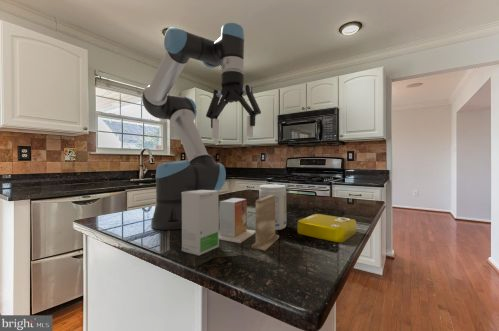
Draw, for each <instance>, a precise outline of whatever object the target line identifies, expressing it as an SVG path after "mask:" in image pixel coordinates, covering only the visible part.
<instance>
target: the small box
mask: <svg viewBox="0 0 499 331" xmlns="http://www.w3.org/2000/svg"><path fill="white" fill-rule="evenodd" d="M247 201H248V200H247V198H238V197H231V198H228V199H225V200H220V201H219V230H220V235H225V236H231V237H236V236H237V235H239V234H241V233H243V232H245V231H247V229H248V228H247V226H248V225H247V223H248V221H247V220H248V219H247V217H248V215H247V213H248V212H247V209H248V207H247V206H248V205H247V204H248V202H247Z"/></svg>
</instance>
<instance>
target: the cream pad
mask: <svg viewBox="0 0 499 331" xmlns="http://www.w3.org/2000/svg"><path fill="white" fill-rule="evenodd" d="M253 235H256V229H255V230H254V229H253V230H252V229H248V228H247V231H245V232H243V233H241V234H239V235H237V236H236V237H231V236H225V235H220V229H219V241H220V240H221V241H226V242H233V243H237V244H242V243H243V242H244V241H246V240H247V239H249V238H250V237H253Z"/></svg>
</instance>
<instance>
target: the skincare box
mask: <svg viewBox="0 0 499 331" xmlns="http://www.w3.org/2000/svg"><path fill="white" fill-rule="evenodd" d="M219 191H220V190H219ZM219 191H215V190H196V191H186V192H182V193H181V194H182V229H181V252H184V253H188V254H190V255H194V256H201V255H204V254H206V253H208V252H210V251H212V250H215V249H217V248H219V246H220V239H219V230H220V201H219V193H220V192H219Z"/></svg>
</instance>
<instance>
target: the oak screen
mask: <svg viewBox="0 0 499 331" xmlns="http://www.w3.org/2000/svg"><path fill="white" fill-rule="evenodd" d="M255 231H256V233H255V242H253V243H252V244H251V247H250V248H251V249H256V250H262V251H266V250H268V248H270V247H271V246H272V245H273V244H275V242H276V241H278V239H279V238H280V234H279V235H278V234H276V230H275V195H269V196H266V197H264V198H261V199H259V198H258V199H256V200H255Z"/></svg>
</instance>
